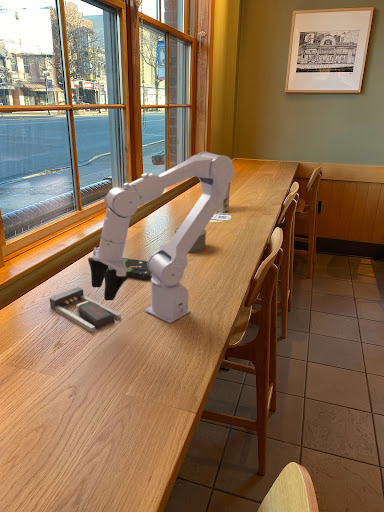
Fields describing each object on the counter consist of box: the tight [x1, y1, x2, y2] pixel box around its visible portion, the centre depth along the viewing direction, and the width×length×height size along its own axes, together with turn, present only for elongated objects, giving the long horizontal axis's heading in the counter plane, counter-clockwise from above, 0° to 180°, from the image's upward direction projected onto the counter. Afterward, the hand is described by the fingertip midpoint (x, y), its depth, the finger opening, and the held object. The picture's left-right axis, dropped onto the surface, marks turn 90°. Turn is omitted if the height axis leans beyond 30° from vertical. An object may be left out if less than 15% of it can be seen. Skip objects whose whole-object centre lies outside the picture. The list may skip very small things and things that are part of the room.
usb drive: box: [76, 301, 116, 330], centre depth 101 cm, size 5×12×3 cm, turn 43°
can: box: [174, 227, 207, 254], centre depth 149 cm, size 12×12×7 cm
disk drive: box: [107, 257, 152, 281], centre depth 128 cm, size 10×3×15 cm
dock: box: [48, 286, 122, 333], centre depth 102 cm, size 18×9×3 cm, turn 50°
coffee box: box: [217, 181, 231, 213], centre depth 200 cm, size 9×6×16 cm
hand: (102, 293), depth 94 cm, fingers open, 7 cm apart
